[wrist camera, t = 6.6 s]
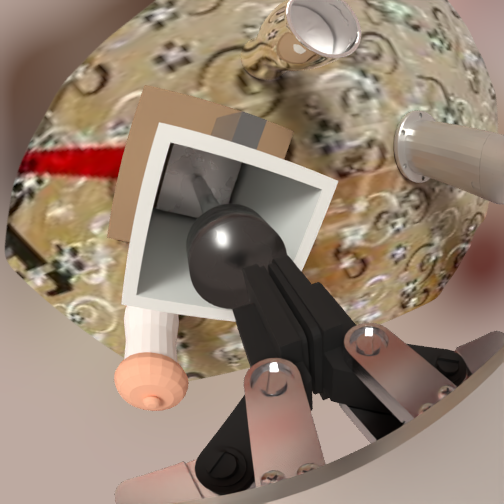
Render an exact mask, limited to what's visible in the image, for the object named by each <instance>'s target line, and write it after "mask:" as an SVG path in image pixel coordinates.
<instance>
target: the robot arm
mask: <svg viewBox="0 0 504 504" xmlns="http://www.w3.org/2000/svg"><path fill="white" fill-rule="evenodd" d="M394 153H395V159H396V162H397V165H398V167H399V169H400V171H401V173H402V174H403V175H404V177H406V178H407V179H408V180H410V181H413V182H416V183H423V182H426V181H428V180H429V179H430V178H431V179H434V180H437V181H440V182H443V183H446V184H448V185H451V186H454V187H456V188H459V189H461V190H464V191H467V192H469V193H471V194H474V195H476V196H479V197H481V198H483V199H486V200H488V201H491V202H493V203H496V204H504V135H501V134H497V133H493V132H489V131H485V130H480V129H476V128H471V127H466V126H460V125H455V124H449V123H442V122H436V121H435V119H434V118H433V117H432V116H431V115H430V114H428V113H427V112H424V111H418V110H416V111H411V112H408V113H407V114H406V115H405V116H404V117H403V118H402V119H401V121H400V122H399V124H398V127H397V130H396V133H395V139H394ZM268 270H269V273H268V271H267V270H266V268H265V267H264V266H262V267H259V266H258V264H254V265H251V266H247V267H244V268H242V271H243V276H244V280H245V284H246V288H247V293H248V297H249V301H250V304H248V305H245V306H241V307H238V308H234V309H232V310H233V314H234V317H235V320H236V324H237V327H238V330H239V334H240V337H241V340H242V343H243V346H244V349H245V352H246V355H247V358H248V361H249V364H250V367H251V368H250V369H249V370H248V371H247V373H246V375H245V378H244V391H245V395H244V397H243V398H242V399H241V401H240V402H239V404H238V405H237V406H236V408H235V409H234V410H233V412H232V413H231V414H230V416H229V417H228V418H227V420H226V421H225V422H224V424H223V425H222V426H221V428H220V429H219V430H218V432H217V433H216V434H215V436H214V437H213V438H212V440H211V441H210V442H209V443H208V445H207V446H206V447H205V448H204V450H203V451H202V452H201V454H200V455H199V457H198V458H197V459H196V460H193V461H191V462H188V463H185V462H181V463H178V464H175V465H173V466H170V467H167V468H164V469H161V470H158V471H155V472H151V473H148V474H145V475H142V476H138V477H135V478H131V479H128V480H126V481H123V482H121V483H120V485H119V486H118V487H117V488H116V491H115V502H116V504H504V333H503V332H500V331H494V332H490V333H488V334H486V335H484V336H482V337H480V338H478V339H475V340H473V341H471V342H469V343H466V344H464V345H461V346H459V347H457V348H456V350H455V351H451V350H447V349H439V348H432V347H424V346H417V345H411V344H406V343H404V342H403V341H402V340H401V339H399V338H398V337H397V336H396V335H395V334H393V333H392V332H391V331H390V330H388V329H387V328H386V327H384V326H382V325H380V324H376V323H362V324H359V325H356V324H355V323H354V322H353V321H352V320H351V318H350V317H349V316H348V315H347V314H346V312H345V311H344V310H343V309H342V308H341V306H340V305H339V304H338V303H337V302H336V300H335V299H334V298H333V297H332V296H331V295H330V293H329V292H328V291H327V290H326V289H325V287H324V286H323V285H322V284H321V283H319V282H317V283H314V284H311V283H310V282H309V280H308V279H307V278H306V277H305V275H304V274H303V273H302V272H301V270H300V269H299V268H298V267H297V266H296V264H295V263H294V262H293V261H292V259H291V258H290V257H289V256H288V255H285V256H282V257H278V258H275V259H273V260H272V264H269V265H268ZM312 392H313V393H314V394H317V393H319V394H320V395H321V397H322V399H323V400H325V399H327V398H330V400H331V401H333V402H337V403H339V405H340V406H341V408H342V410H343V411H344V412H345V413H346V414H347V416H348V417H349V418H350V419H351V421H352V422H353V423H354V424H355V425H356V427H357V428H358V429H359V430H360V431H361V432H362V434H363V435H364V436H365V437H366V438H367V439H368V441H369V442H370V443H371V444H370V445H368V446H366V447H364V448H362V449H360V450H358V451H356V452H354V453H351V454H349V455H347V456H345V457H343V458H340V459H338V460H336V461H334V462H331V463H329V464H325V460H324V457H323V453H322V450H321V446H320V442H319V439H318V435H317V431H316V428H315V424H314V421H313V417H312V414H311V410H312V409H313V408H312Z"/></svg>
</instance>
